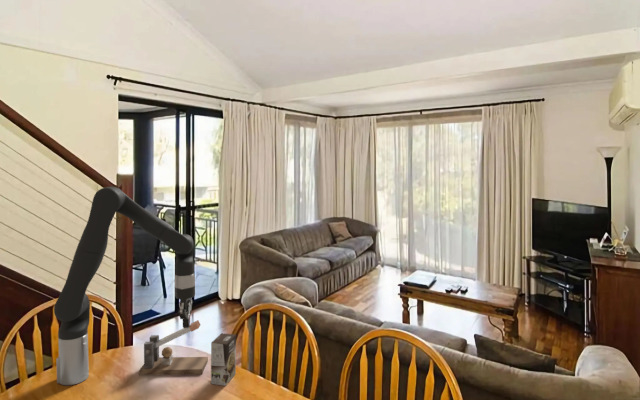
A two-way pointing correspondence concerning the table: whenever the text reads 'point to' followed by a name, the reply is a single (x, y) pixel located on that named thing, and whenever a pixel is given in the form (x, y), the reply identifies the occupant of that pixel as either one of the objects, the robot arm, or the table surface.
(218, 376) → the coffee box
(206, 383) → the table surface
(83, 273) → the robot arm
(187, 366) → the press base
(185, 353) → the table surface
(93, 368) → the table surface
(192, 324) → the lever
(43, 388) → the table surface
